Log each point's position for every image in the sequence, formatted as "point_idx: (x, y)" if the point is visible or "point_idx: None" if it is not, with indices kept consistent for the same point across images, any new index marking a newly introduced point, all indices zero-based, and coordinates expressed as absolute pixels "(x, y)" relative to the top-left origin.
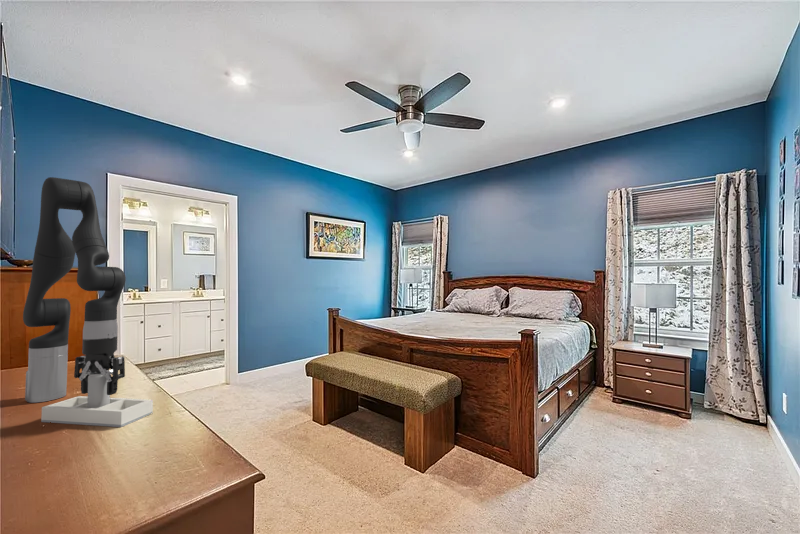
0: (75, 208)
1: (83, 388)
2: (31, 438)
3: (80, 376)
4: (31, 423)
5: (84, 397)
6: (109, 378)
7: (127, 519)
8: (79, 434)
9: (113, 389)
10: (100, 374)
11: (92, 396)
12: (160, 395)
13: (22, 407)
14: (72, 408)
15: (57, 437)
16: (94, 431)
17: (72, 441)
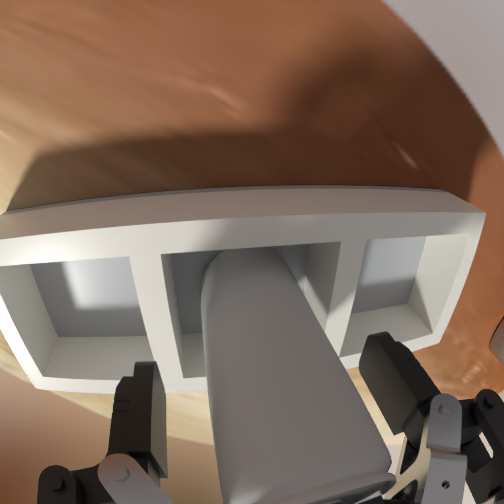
0: None
1: (389, 358)
2: (308, 15)
3: (459, 417)
4: (460, 174)
5: (408, 343)
6: (116, 482)
7: None
8: (98, 90)
9: (115, 401)
10: None
11: (253, 322)
12: None
13: None
14: (335, 221)
15: (178, 35)
16: (63, 139)
17: (52, 34)
